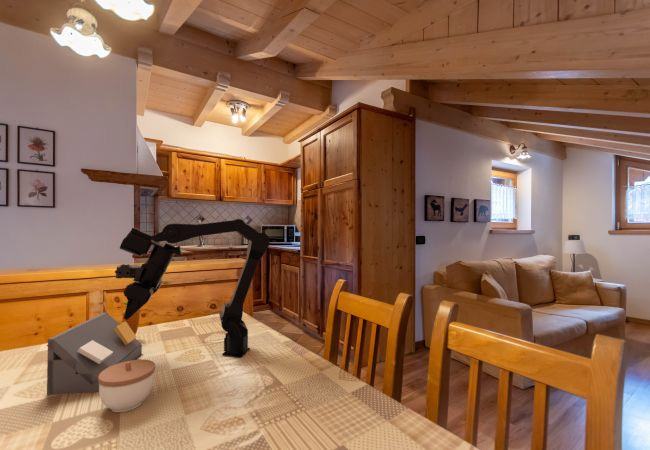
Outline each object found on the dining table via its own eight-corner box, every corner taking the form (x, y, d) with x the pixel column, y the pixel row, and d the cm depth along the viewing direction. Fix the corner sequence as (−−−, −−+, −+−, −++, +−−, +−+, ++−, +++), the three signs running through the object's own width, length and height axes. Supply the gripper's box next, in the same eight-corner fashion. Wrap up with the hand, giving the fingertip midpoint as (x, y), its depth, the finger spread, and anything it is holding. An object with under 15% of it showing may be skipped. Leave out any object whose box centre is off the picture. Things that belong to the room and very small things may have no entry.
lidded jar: (111, 426, 60) (112, 379, 60) (88, 408, 66) (89, 365, 66) (164, 400, 69) (165, 359, 69) (140, 386, 75) (140, 348, 75)
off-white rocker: (113, 354, 79) (109, 336, 78) (102, 363, 74) (98, 343, 73) (93, 359, 78) (89, 340, 78) (80, 368, 73) (76, 348, 73)
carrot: (130, 344, 101) (131, 299, 101) (118, 343, 102) (119, 299, 102) (142, 339, 105) (143, 296, 106) (130, 338, 106) (131, 295, 107)
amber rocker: (136, 339, 92) (140, 323, 92) (127, 345, 87) (131, 328, 87) (119, 336, 92) (123, 320, 92) (109, 342, 87) (113, 325, 87)
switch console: (141, 353, 94) (142, 311, 94) (98, 391, 72) (99, 337, 72) (101, 355, 92) (102, 312, 92) (45, 394, 70) (46, 339, 71)
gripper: (136, 249, 93) (110, 295, 91) (118, 255, 76) (85, 313, 73) (172, 263, 97) (148, 308, 94) (162, 272, 79) (133, 328, 77)
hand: (130, 313), depth 85 cm, fingers open, 9 cm apart
